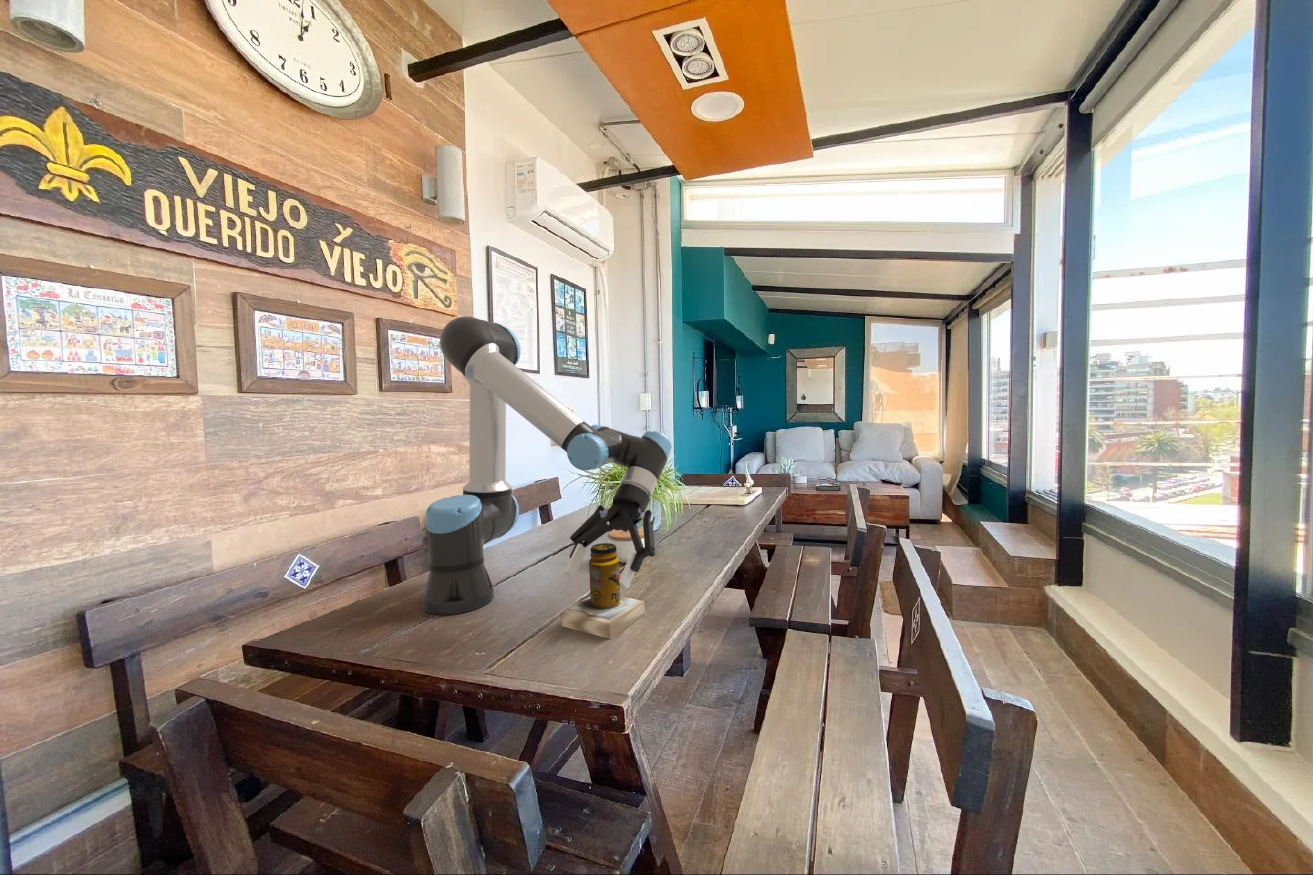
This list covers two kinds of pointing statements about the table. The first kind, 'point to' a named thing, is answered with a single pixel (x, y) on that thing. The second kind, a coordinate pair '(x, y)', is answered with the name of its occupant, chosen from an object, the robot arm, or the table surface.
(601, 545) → the condiment
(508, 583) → the table surface
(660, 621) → the table surface
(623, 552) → the lidded jar
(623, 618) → the plinth
